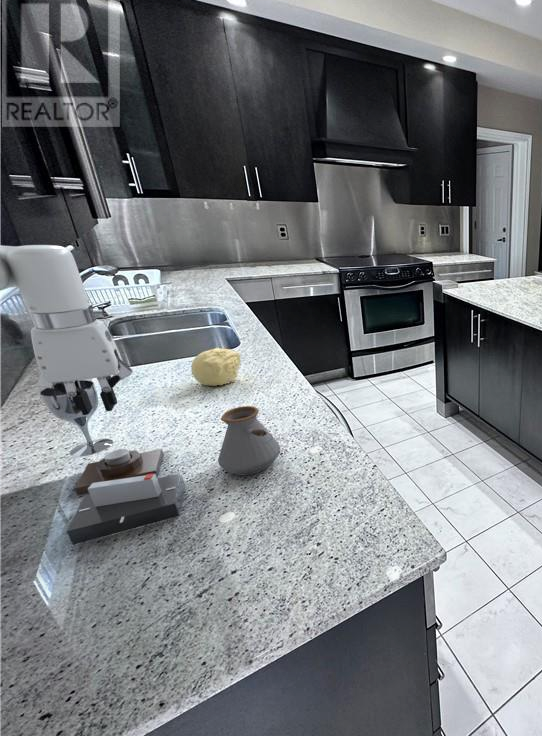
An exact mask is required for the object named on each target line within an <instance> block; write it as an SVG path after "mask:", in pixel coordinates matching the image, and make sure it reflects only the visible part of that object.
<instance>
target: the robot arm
mask: <svg viewBox="0 0 542 736" xmlns="http://www.w3.org/2000/svg"><path fill="white" fill-rule="evenodd" d="M11 288H18V290H19V293H20V295H21V297H22V300H23V302H24V305H25V307H26V309H27V311H28V314H29V317H30V319H31V321H32V323H33V326H34V327H32V328H31V329H30V337H31V344H32V348H33V354H34V358H35V361H36V364H37V367H38V370H39V375H38V379H37V381H36V385H37V386H38V387H40V388H44V389H46V388H54V389H56V390H58V391H61V392H63V393H66V394H67V395H68V396H70V397H72V398H73V400H74V403H75V405H76V408H77V410H81V412H82V414H83V415H88V414H89V413H90V411H91V410H92V408H93V407H92V404H91V402H90V399H89V397H88V394H87V392H86V391H85V390H83V389H81V386H80V383H79V381H80V380H89V379H96V381H97V382H98V385H99V386H100V388H101V389H100V391H101V392H100V393H99V396H100V399H101V402H102V404H103V406H104V409H105V411H106V412H112V411H113V409H114V408H115V406H116V405H117V404H118V399H117V396H116V393H115V390H114V387H116V386H117V384H118V383H119V382H120V381H122V380H125V379H126V378H128V377H130V376H131V375H132V374H133V372H134V370H133V369H132V368H131V367H130V366H129V365H127V364H126V363H125V362H124V361H123V358H122V356H121V353H120V351H119V348H118V346H117V344H116V341H115V339H114V338H113V335H112V334H111V332H110V330H109V328H108V327H107V326H106V324H105V322H103V320H97V319H99V318H104V317H105V315H106V314H105V311H104V309H102V308H101V309H100V308H99V309H98V308H95V307H94V306H93V305H92V304H91V301H90V299H89V297H88V293H87V291H86V288H85V285H84V283H83V279H82V277H81V274H80V271H79V269H78V265H77V262H76V260H75V257H74V255H73V253H72V252H71V251H70V250H69V248H66V247H64V246H61V245H54V244H28V245H18V246H16V245H15V246H14V245H13V246H12V245H0V291H4V290H7V289H11Z"/></svg>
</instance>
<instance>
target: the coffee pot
mask: <svg viewBox="0 0 542 736" xmlns="http://www.w3.org/2000/svg"><path fill="white" fill-rule="evenodd" d="M259 412H260V410H259V409H258V407H256V406H252V405H245V406H237V407H235V408H232V409H229V410H227V411H226V412H224V413H223V414H222V416H221V417H220V421H222V422H224V424H226V425H227V428H226V431H225V434H224V437H223V440H222V441H223V442H222V443H221V447H220V450H219V455H218V457H217V458H218V459H217V462H218V463H217V464H218V465H219V467H220V468H222V469H223V470H224V471H226V472H229V473H230V474H231V473H232V474H235V475H237V476H238V475H239V476H248V475H253V474H258V473H259V472H262V471H264V470H266V469H267V468H268V467H269V466H271V465H272V463H274V462H275V460H276V459H277V458H278V456H279V453H280V451H281V450H280V449H281V446H280V444H279V442H278V441H277V440H276V439H275V438H274V436H273V435H272V433H271V432H269V431H268V429H267V428H266V427H265V426H264V425H263V424H262V422H260V421H259V419H258V418H257V416H258V414H259Z"/></svg>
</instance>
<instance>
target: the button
mask: <svg viewBox="0 0 542 736" xmlns="http://www.w3.org/2000/svg"><path fill="white" fill-rule="evenodd" d="M129 451H130V450H129V449H126V448H121V449H116V450H112V451H110V452H108V453H106V454H105V456H104V458H105V460H106V463H107V465H108V466H115V465H120V464H122V463H125V462H127V461H129V460H130V459H131V456H130V454H129Z"/></svg>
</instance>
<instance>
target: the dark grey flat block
mask: <svg viewBox="0 0 542 736" xmlns="http://www.w3.org/2000/svg"><path fill="white" fill-rule="evenodd" d="M157 479H158V482H159V485H160V488H161V491H162V492H161V493H160V495H159V496H158V497H154V498H148V499H142V500H135V501H129V502H123V503H117V504H111V505H104V506H98V507H95V505H94V503H93V500H92V498H91V496H90V493H87V494H84V496H83V498H82V500H81V502H80V503H79V506H78V507H77V509H76V511H75V514H74V516H73V518H72V520H71V522H70V524H69V525H68V528H67V529H66V533H67V536H68V537H69V540H70V541H71V544H72V546H75V545H79V544H84V543H86V542H89V541H94V540H97V539H100V538H104V537H108V536H112V535H116V534H119V533H123V532H127V531H130V530H134V529H137V528H141V527H145V526H149V525H153V524H156V523H159V522H162V521H167V520H171V519H174V518H178V517H180V514H181V510H182V504H183V499H184V493H185V488H186V483H185V480H184V477H183V474H182V472H179V473H176V474H171V475H167V476H163V477H157Z"/></svg>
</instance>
